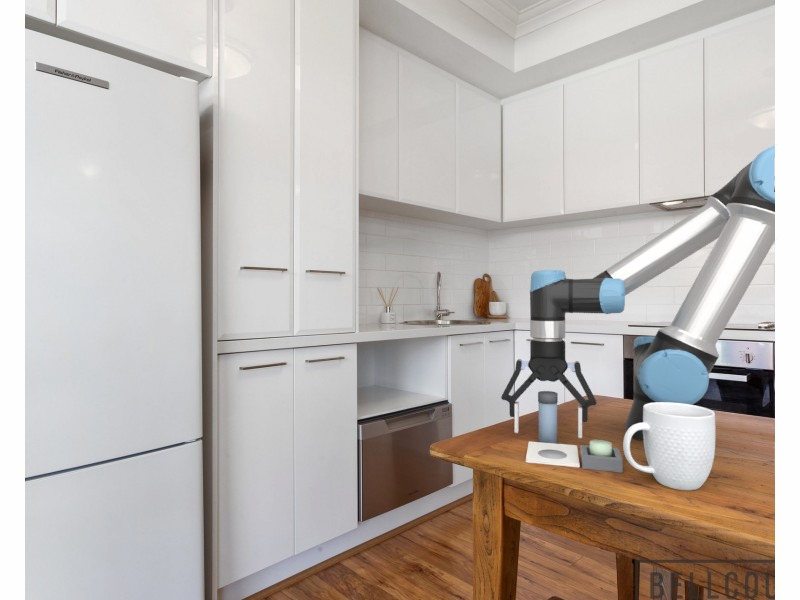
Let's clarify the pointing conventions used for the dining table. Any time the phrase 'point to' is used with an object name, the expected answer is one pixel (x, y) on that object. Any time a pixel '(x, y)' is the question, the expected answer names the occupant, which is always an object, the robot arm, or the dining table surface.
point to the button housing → (601, 460)
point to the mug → (675, 443)
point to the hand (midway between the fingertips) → (547, 433)
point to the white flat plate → (552, 454)
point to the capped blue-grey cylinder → (548, 416)
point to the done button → (600, 448)
